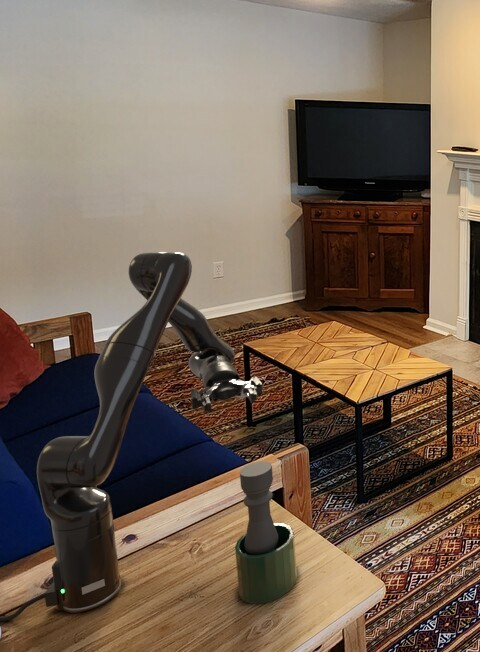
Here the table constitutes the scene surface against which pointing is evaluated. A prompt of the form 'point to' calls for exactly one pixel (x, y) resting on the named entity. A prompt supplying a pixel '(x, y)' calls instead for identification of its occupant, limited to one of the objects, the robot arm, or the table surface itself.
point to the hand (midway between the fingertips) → (231, 403)
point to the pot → (267, 569)
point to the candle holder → (258, 508)
